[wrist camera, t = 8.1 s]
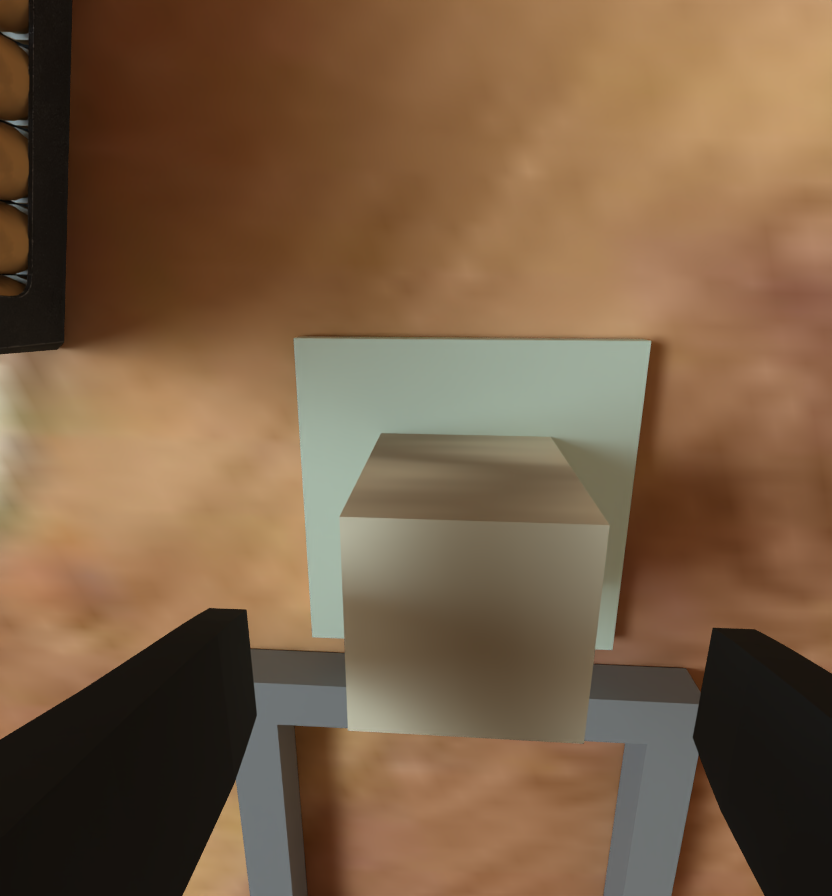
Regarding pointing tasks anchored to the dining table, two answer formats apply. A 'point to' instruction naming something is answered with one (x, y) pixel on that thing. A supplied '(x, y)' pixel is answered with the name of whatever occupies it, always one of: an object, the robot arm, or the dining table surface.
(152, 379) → the dining table surface
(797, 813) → the robot arm
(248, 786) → the frame
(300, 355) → the green pad
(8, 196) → the ammunition clip
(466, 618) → the maple block
